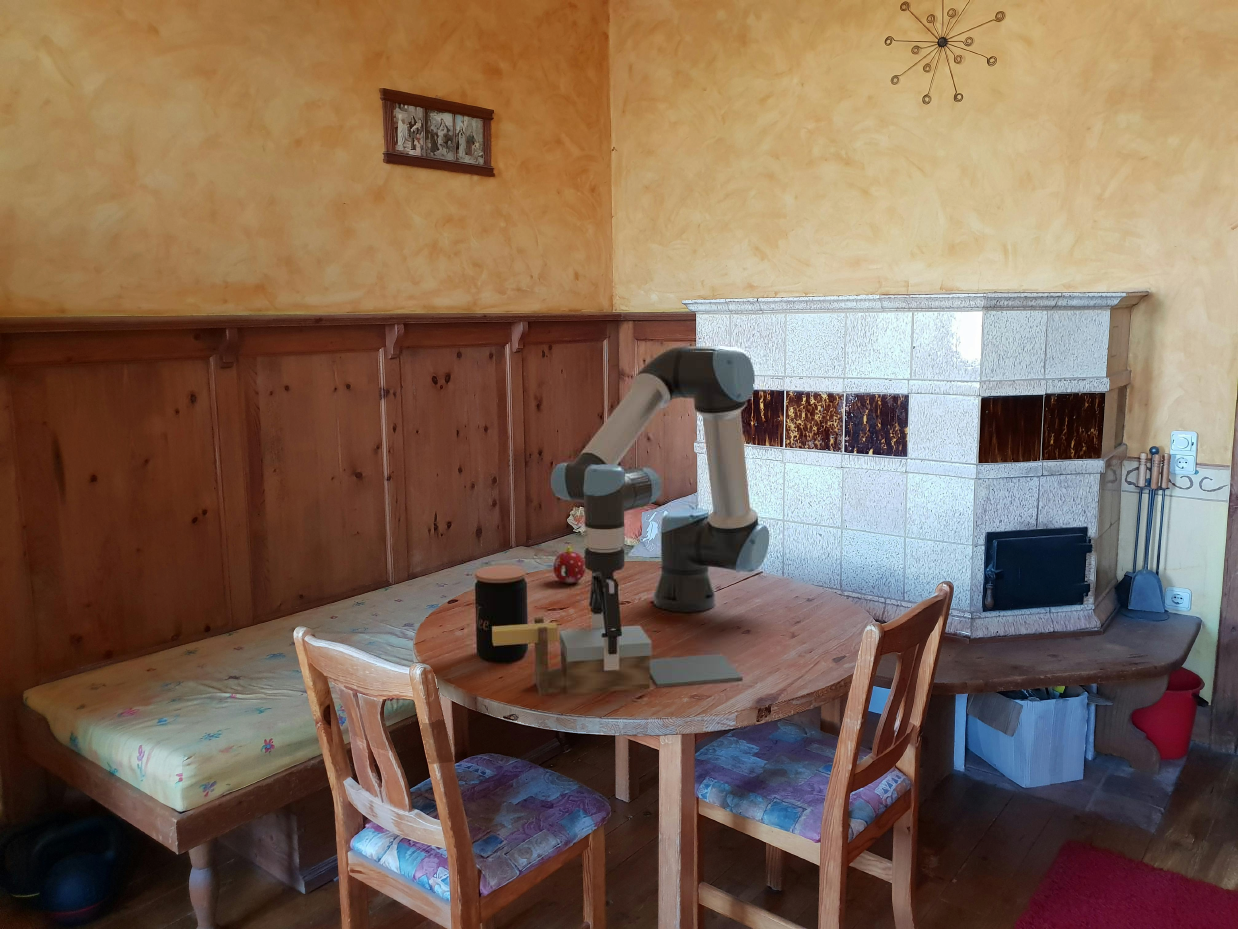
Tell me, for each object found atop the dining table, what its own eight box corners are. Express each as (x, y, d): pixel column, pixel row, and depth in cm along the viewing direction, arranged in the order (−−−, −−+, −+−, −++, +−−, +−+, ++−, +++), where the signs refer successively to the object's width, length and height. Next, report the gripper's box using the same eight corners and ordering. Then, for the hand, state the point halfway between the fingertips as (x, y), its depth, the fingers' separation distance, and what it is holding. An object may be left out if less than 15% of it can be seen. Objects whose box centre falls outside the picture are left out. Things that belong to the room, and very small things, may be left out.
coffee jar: (478, 647, 199) (476, 565, 197) (528, 645, 200) (527, 564, 198) (474, 665, 189) (472, 579, 186) (527, 663, 190) (526, 578, 187)
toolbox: (641, 674, 184) (641, 610, 182) (649, 687, 177) (649, 621, 175) (535, 682, 180) (534, 617, 178) (539, 696, 173) (538, 629, 171)
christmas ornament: (590, 580, 251) (590, 544, 249) (577, 589, 243) (577, 551, 241) (561, 577, 254) (561, 541, 252) (548, 585, 246) (547, 548, 244)
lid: (639, 645, 184) (639, 625, 184) (651, 662, 175) (651, 642, 174) (559, 650, 181) (559, 631, 181) (567, 669, 171) (567, 648, 171)
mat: (721, 656, 193) (721, 654, 193) (742, 680, 181) (742, 677, 181) (642, 663, 190) (642, 660, 190) (657, 687, 177) (657, 684, 177)
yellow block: (555, 636, 177) (555, 622, 176) (558, 641, 174) (557, 627, 174) (492, 640, 174) (492, 626, 174) (493, 645, 172) (493, 631, 171)
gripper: (574, 534, 186) (575, 637, 189) (596, 565, 162) (597, 682, 165) (611, 532, 187) (611, 635, 191) (638, 562, 164) (638, 679, 167)
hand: (604, 657), depth 178 cm, fingers open, 12 cm apart
